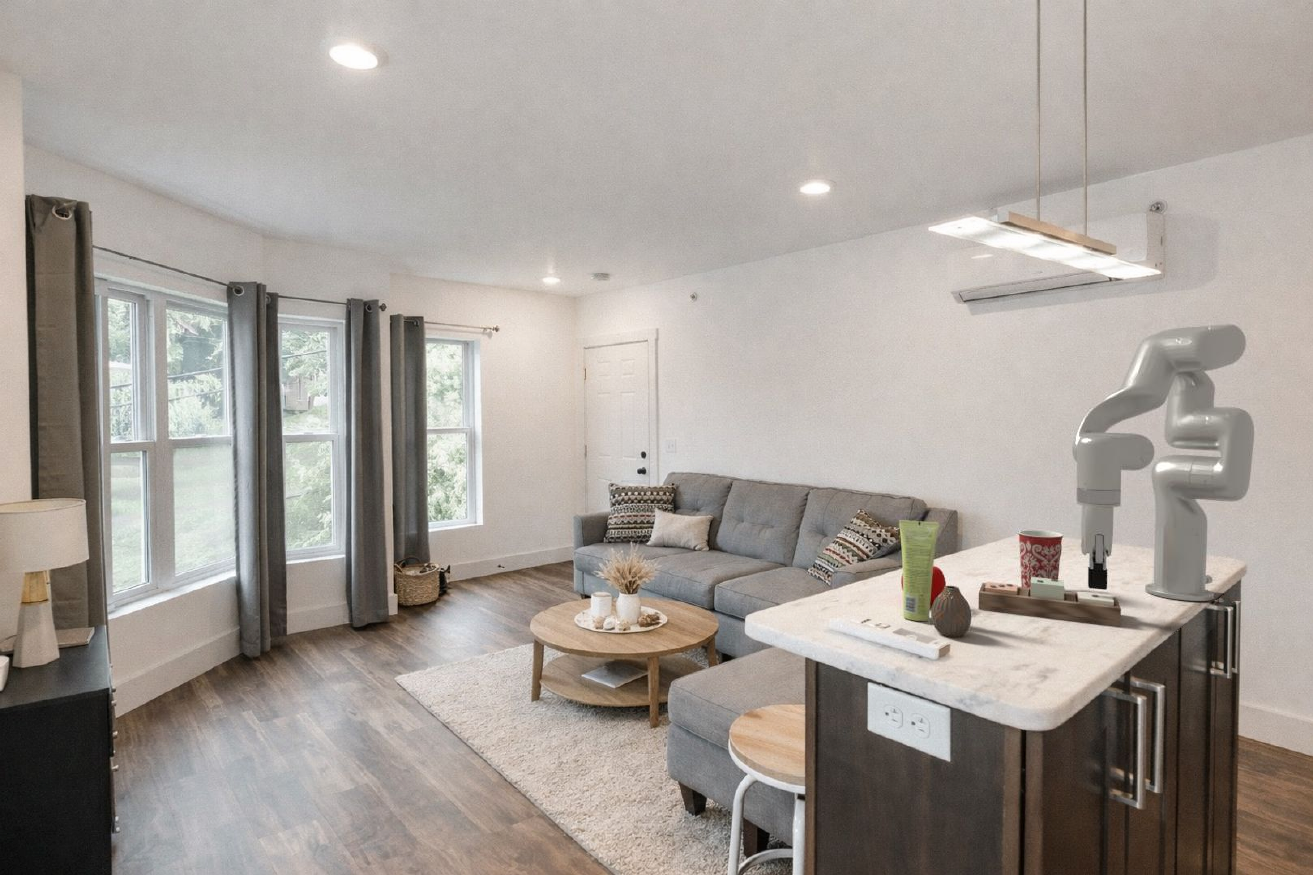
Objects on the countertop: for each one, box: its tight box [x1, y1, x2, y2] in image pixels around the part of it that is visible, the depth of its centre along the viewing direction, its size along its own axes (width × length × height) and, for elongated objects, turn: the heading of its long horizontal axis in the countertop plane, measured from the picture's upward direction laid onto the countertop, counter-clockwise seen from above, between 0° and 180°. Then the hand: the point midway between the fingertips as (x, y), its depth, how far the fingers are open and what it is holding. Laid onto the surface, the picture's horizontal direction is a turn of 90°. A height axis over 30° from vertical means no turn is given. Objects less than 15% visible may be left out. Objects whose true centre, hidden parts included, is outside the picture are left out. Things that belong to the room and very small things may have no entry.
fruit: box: [900, 565, 947, 606], centre depth 155 cm, size 9×9×10 cm
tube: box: [898, 519, 940, 622], centre depth 143 cm, size 6×5×20 cm
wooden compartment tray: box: [977, 582, 1122, 628], centre depth 149 cm, size 25×10×4 cm, turn 61°
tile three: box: [985, 581, 1019, 595], centre depth 153 cm, size 6×6×3 cm
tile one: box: [1076, 591, 1114, 606], centre depth 145 cm, size 6×6×3 cm
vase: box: [930, 585, 972, 638], centre depth 133 cm, size 7×7×9 cm
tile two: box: [1030, 577, 1065, 600], centre depth 149 cm, size 6×6×3 cm
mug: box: [1017, 529, 1064, 588], centre depth 166 cm, size 13×9×14 cm
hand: (1097, 587), depth 145 cm, fingers closed
